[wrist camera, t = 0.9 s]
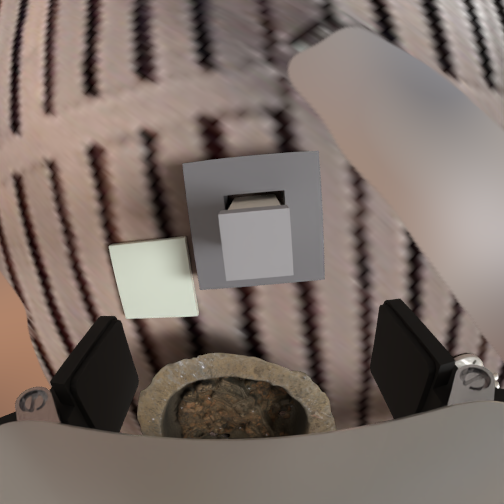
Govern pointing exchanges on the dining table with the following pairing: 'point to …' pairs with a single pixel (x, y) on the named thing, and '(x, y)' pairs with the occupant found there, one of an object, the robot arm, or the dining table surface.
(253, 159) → the grey square ring
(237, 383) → the stone bowl
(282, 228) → the plug
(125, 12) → the dining table surface
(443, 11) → the dining table surface
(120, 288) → the coaster
